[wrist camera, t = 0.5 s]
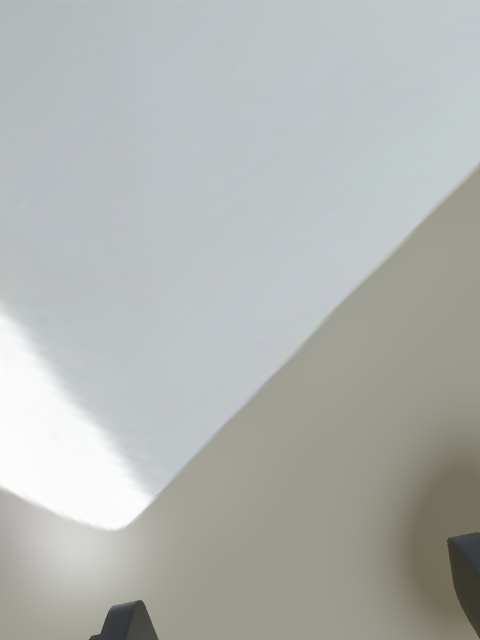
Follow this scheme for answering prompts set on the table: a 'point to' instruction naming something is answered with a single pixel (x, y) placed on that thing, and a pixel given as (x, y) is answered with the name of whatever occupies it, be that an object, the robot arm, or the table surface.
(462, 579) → the robot arm
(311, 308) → the table surface
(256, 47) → the table surface
